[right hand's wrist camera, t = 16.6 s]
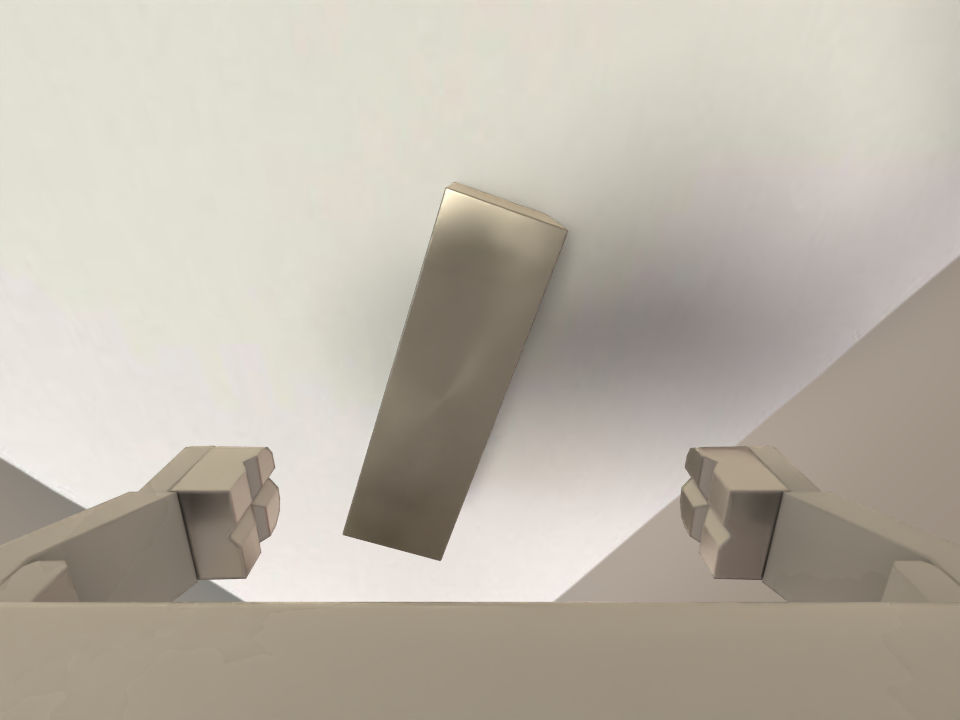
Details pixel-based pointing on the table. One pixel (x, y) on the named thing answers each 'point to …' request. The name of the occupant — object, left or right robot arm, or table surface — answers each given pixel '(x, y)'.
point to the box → (452, 367)
